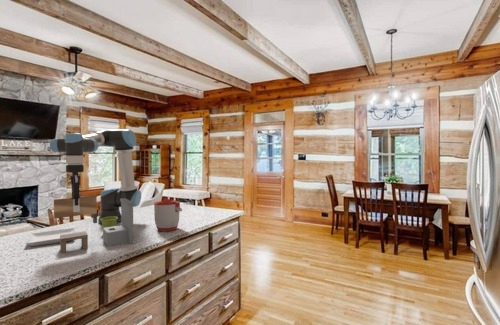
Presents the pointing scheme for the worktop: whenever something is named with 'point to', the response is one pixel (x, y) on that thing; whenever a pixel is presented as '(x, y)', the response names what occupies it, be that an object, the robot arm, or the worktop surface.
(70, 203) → the wooden board
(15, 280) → the worktop surface
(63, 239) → the trestle
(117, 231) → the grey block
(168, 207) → the citrus juicer
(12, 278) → the worktop surface
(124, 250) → the worktop surface
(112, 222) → the plant pot
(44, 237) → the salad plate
